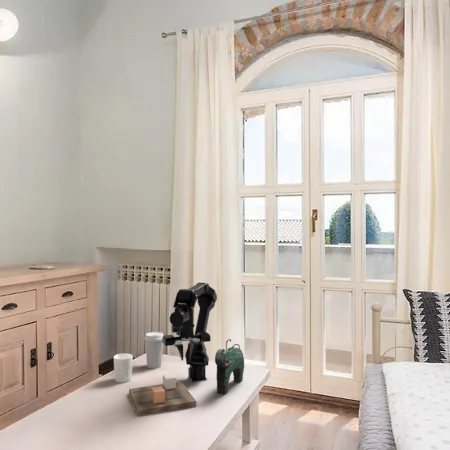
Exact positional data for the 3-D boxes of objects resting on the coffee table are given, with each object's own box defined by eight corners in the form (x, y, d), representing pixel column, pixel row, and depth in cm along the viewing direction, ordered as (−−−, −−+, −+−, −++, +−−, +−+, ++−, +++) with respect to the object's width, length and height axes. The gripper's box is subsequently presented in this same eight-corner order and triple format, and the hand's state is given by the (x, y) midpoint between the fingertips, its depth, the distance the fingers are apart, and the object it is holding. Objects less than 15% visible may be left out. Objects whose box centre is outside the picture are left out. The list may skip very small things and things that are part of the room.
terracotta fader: (161, 396, 155) (161, 385, 155) (164, 402, 150) (165, 390, 150) (151, 398, 153) (151, 387, 153) (153, 403, 148) (154, 392, 148)
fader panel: (181, 386, 170) (181, 381, 170) (196, 406, 152) (196, 400, 152) (129, 393, 162) (129, 388, 162) (138, 415, 144) (138, 409, 144)
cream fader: (172, 383, 167) (172, 373, 167) (175, 388, 163) (175, 377, 163) (162, 384, 166) (162, 374, 166) (165, 389, 161) (165, 379, 161)
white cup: (122, 384, 172) (123, 360, 172) (109, 380, 176) (109, 357, 176) (136, 378, 179) (136, 355, 179) (123, 375, 183) (123, 352, 183)
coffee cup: (140, 369, 191) (140, 336, 190) (148, 362, 200) (148, 331, 200) (160, 370, 189) (161, 337, 189) (167, 363, 198) (167, 331, 198)
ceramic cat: (224, 397, 160) (225, 345, 160) (210, 393, 163) (210, 342, 163) (247, 380, 178) (247, 333, 178) (233, 377, 181) (233, 331, 181)
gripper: (202, 315, 178) (201, 351, 178) (159, 318, 171) (158, 356, 171) (211, 320, 168) (210, 359, 168) (165, 324, 161) (165, 365, 161)
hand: (186, 359), depth 167 cm, fingers open, 3 cm apart
